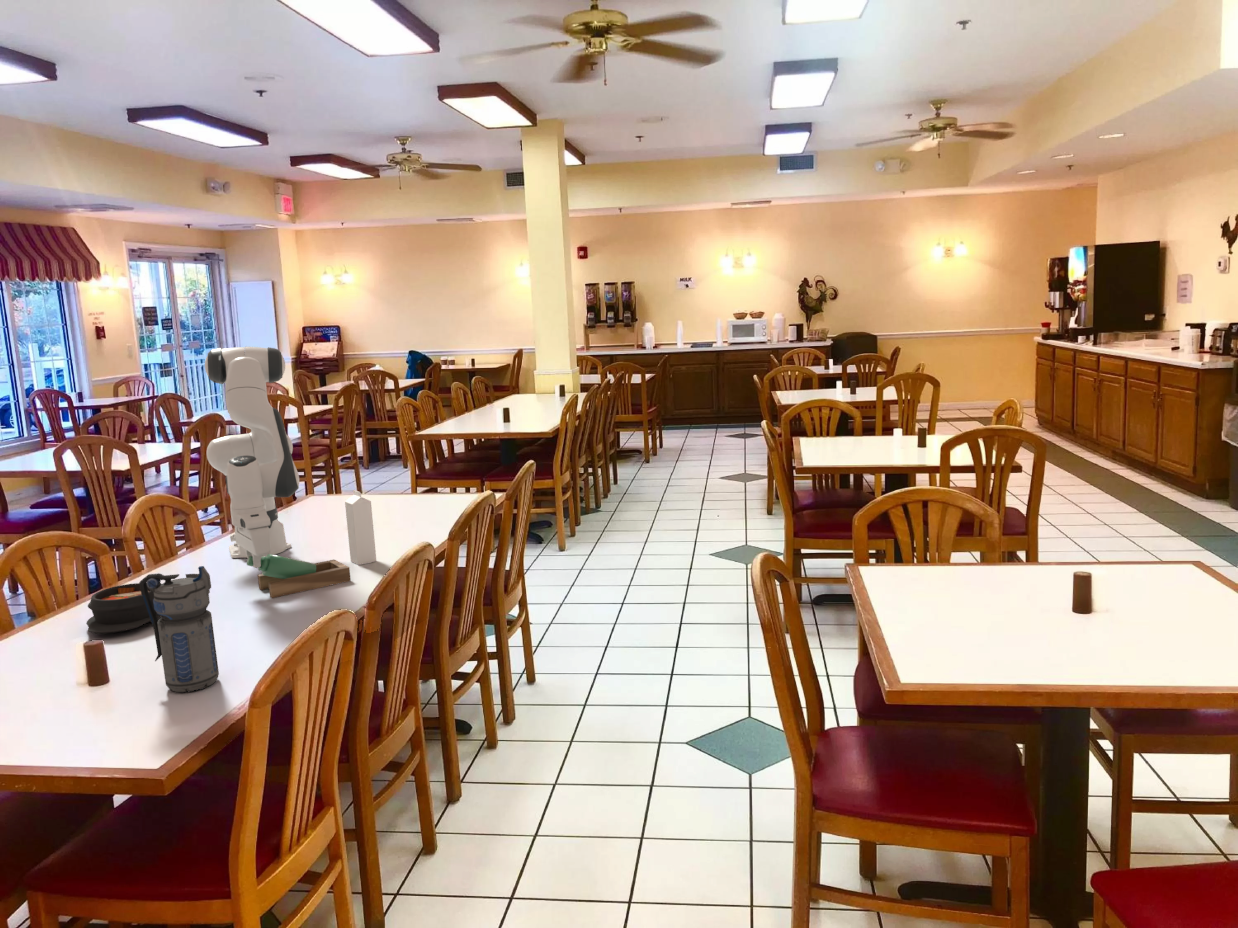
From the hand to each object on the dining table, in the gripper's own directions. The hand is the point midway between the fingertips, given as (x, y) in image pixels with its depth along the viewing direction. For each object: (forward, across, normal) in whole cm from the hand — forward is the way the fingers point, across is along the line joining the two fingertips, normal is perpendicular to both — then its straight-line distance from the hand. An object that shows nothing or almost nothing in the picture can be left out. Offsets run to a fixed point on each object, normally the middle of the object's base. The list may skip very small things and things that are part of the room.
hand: (254, 565), depth 255 cm
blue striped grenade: (+8, +56, -30) cm, 64 cm away
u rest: (+8, 0, +13) cm, 15 cm away
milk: (+8, -12, +35) cm, 38 cm away
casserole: (+8, 0, -32) cm, 33 cm away
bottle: (+6, 0, +15) cm, 16 cm away
